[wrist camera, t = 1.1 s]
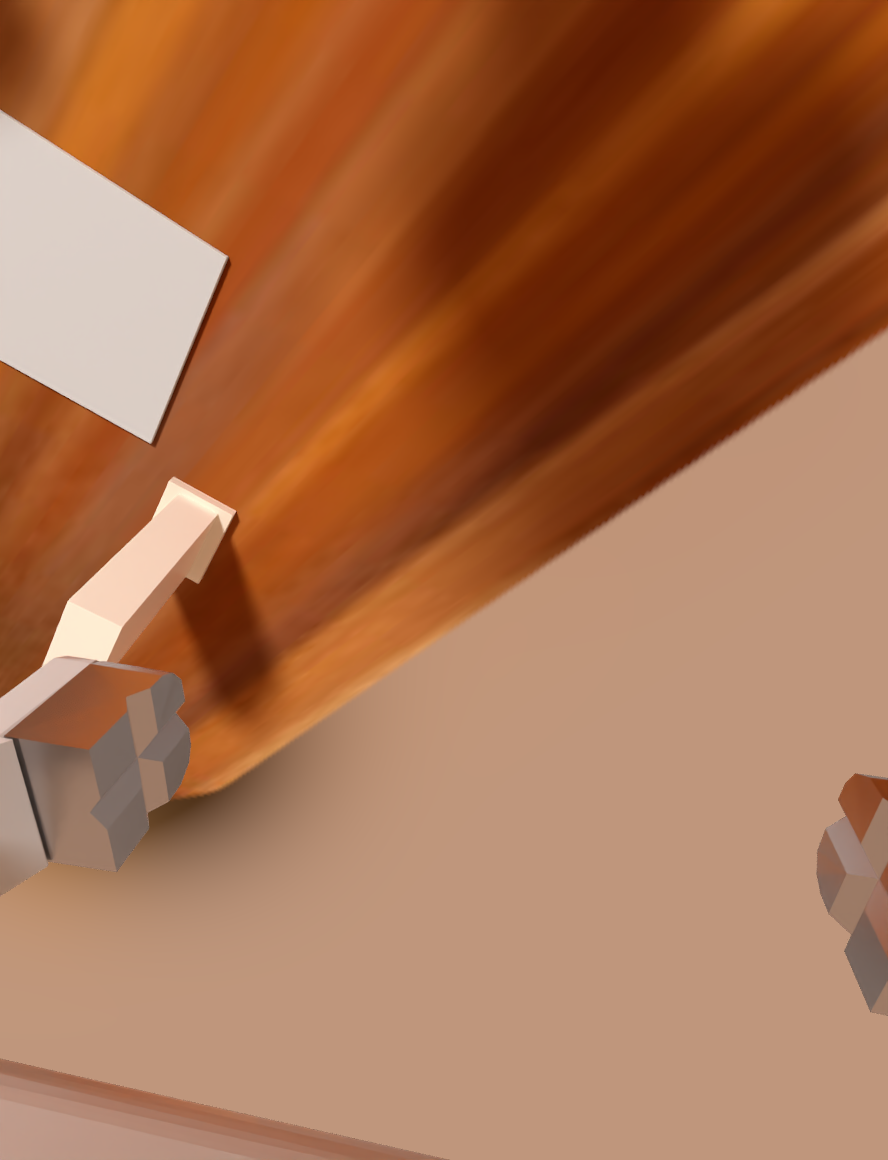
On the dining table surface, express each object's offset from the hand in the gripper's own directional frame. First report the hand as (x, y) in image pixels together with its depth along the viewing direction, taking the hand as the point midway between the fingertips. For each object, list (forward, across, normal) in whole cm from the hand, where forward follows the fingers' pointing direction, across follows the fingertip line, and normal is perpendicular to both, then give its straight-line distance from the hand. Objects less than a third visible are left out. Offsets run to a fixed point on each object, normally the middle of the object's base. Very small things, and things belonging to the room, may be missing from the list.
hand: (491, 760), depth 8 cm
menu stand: (+37, +25, +14) cm, 47 cm away
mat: (+35, +32, -4) cm, 47 cm away
